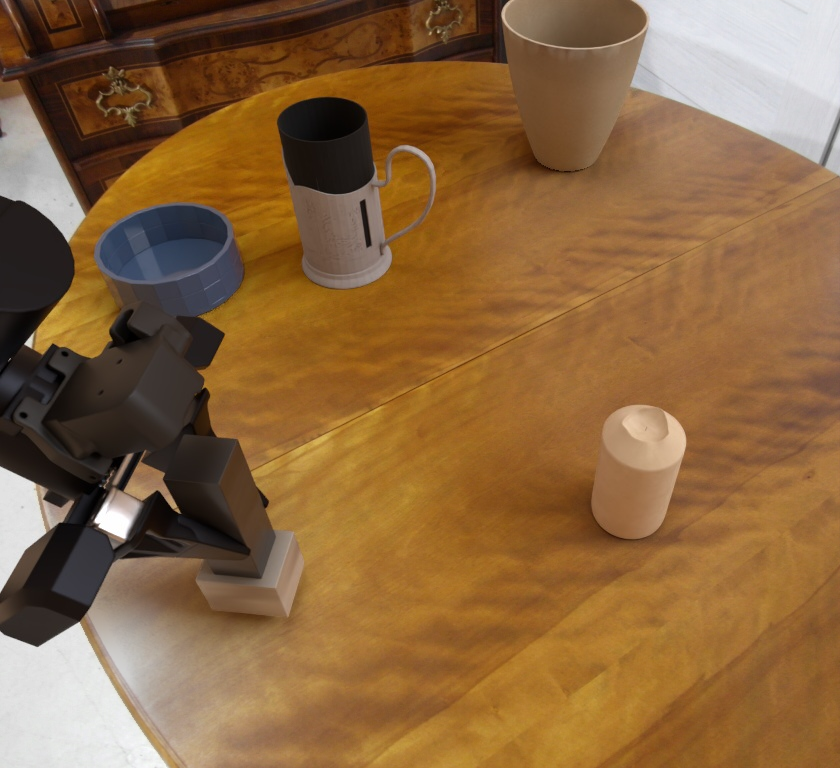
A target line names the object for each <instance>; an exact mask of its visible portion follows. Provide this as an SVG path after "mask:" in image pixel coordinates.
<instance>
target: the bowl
mask: <svg viewBox="0 0 840 768" xmlns="http://www.w3.org/2000/svg"><path fill="white" fill-rule="evenodd" d="M93 252H94V253H93V255H94V256H93V261H94V262H95V265H96V266H97V268H98V270H99V272H100V274H101V276H102V278H103V281H104V283H105V285H106V287H107V290H108V291H109V293H110V295H111V297H112V299H113V301H114V303H115V304H116V306H117V307H118V308H119V309H120V311H121V310H122V308H123V307H124V306H126V305H129V304H132V303H135V302H138V301H141V300H143V301H145V302H147V303H149V304H151V305H153V306H155V307H156V308H158V309H160V310H162V311H164V312H166V313H168V314H169V315H171V316H173V317H174V318H175V317H176V316H177V315H179V316H192V317H199V316H201V315H204V314H206V313H208V312H210V311H212V310H214V309H216V308H217V307H219V306H221V305H222V304H224V303H225V302H226V301H228V300H229V299H230V298H231V297H232V296H233V295H234V294H235V293H236V292H237V290H238V289H239V288H240V286H241V284H242V282H243V280H244V276H245V265H244V262H243V260H244V259H243V256H242V251H241V249H240V246H239V242H238V239H237V235H236V232H235V229H234V225H233V223H232V222H231V221H230V219H229V218H228V217H227V215H226V214H224V213H223V212H222V211H220V210H218V209H217V208H214V207H212V206H209V205H205V204H201V203H197V202H181V201H180V202H169V203H161V204H155V205H152V206H148V207H145V208H142V209H139V210H136V211H133V212H131V213H129V214H127V215H125V216H124V217H122V218H120V219H118V220H116V221H115V222H114V223H112V224H111V225H110V227H108V228H107V229H105V231H104V232H103V233H102V234H101V235H100V237H99V238H98V240H97V242H96V243H95V245H94V251H93Z"/></svg>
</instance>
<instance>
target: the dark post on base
mask: <svg viewBox="0 0 840 768" xmlns="http://www.w3.org/2000/svg"><path fill="white" fill-rule="evenodd" d="M162 482H163V483H164V485H165V487H166V489H167V490H168V492H169V494H170V496H171V498H172V500H173V501H174V503H175V505H176V507H177V509H178V511H179V513H180V514H183V515H185V516H187V517H189V518H191V519H194V520H196V521H198V522H200V523H202V524H204V525H207V526H209V527H211V528H213V529H215V530H218V531H220V532H222V533H224V534H226V535H228V536H231V537H232V538H234V539H236V540H237V541H239V542H240V543H242V544H244V545H245V546H247V547H248V548H250V549H251V554H250V556H249V557H247V558H246V559H244V560H240V561H236V560H215V559H202V563H201V565H200V567H199V570H198V572H197V575H196V578H195V581H194V582H195V583H196V584H197V587H198V588H199V590H200V591H201V593H202V595H203V596H204V598H205V600H206V601H207V603H208V605H209V606H210V609H211V610H212V611H217V612H228V613H235V614H236V613H237V614H247V615H256V616H257V615H259V616H267V617H278V618H289V616H290V614H291V610H292V608H293V603H294V600H295V597H296V594H297V590H298V587H299V583H300V580H301V577H302V575H303V571H304V568H305V564H306V562H305V559H304V556H303V553H302V550H301V547H300V545H299V542H298V539H297V537H296V534H295V531H292V530H282V529H281V530H280V529H274V528H273V525H272V522H271V520H270V517H269V515H268V512H267V509H266V508H265V507H264V505H263V502H262V499H261V497H260V494H259V492H258V489H257V487H258V486H257V484H256V481H255V479H254V476H253V474H252V472H251V469H250V466H249V463H248V461H247V459H246V456H245V453H244V451H243V449H242V445H241V443H240V441H239V438H231V437H222V436H221V437H219V436H217V437H209V436H198V435H186V434H184V435H183V438H182V440H181V442H180V444H179V446H178V448H177V450H176V452H175V454H174V456H173V458H172V460H171V462H170V464H169V466H168V469H167V471H166V473H164V475H163V477H162ZM256 486H257V487H256Z"/></svg>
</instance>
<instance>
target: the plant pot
mask: <svg viewBox="0 0 840 768" xmlns="http://www.w3.org/2000/svg"><path fill="white" fill-rule="evenodd" d="M500 17H501V25H502V31H503V32H502V33H503V40H504V41H503V42H504V46H505V54H506V60H507V65H508V71H509V76H510V80H511V86H512V89H513V93H514V98H515V102H516V105H517V109H518V112H519V116H520V119H521V123H522V126H523V129H524V132H525V134H526V137H527V140H528V142H529V145H530V148H531V150H532V153H533V156H534V158H535V160H536V159H537V160H536V161H537V162H538V164H540V163H541V164H540V165H542V166H543V165H544V166H543V167H545V166H546V167H545V168H547V167H548V168H547V169H549V168H550V170H553V169H555V170H554V171H556V170H559V171H558V172H564V171H571V172H576V171H575V170H579V171H581V170H580V169H583V170H585V169H588V168H589V167H591V166H593V165H594V164H595V163H596V161H597V160H598V158H599V157H600V155H601V153H602V151H603V149H604V147H605V145H606V144H607V141H608V140H609V137H610V135H611V133H612V131H613V129H614V127H615V125H616V123H617V120H618V118H619V116H620V113H621V111H622V109H623V106H624V103H625V101H626V98H627V96H628V93H629V90H630V88H631V85H632V82H633V79H634V76H635V73H636V70H637V67H638V64H639V60H640V58H641V54H642V49H643V47H644V43H645V39H646V36H647V33H648V29H649V25H650V20H651V19H650V15H649V11H648V10H647V9H646V8H645V7H644V6H643V5H642V4H641V3H640V2H639V1H637V0H508V1H507V2H506V3H505V4H504V6H503V7H502V10H501V14H500ZM587 167H588V168H587ZM584 168H585V169H584Z"/></svg>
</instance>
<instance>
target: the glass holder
mask: <svg viewBox="0 0 840 768" xmlns="http://www.w3.org/2000/svg"><path fill="white" fill-rule="evenodd" d="M276 125H277V130H278V135H279V139H280V143H281V157H282V163H283V167H284V171H285V175H286V179H287V183H288V188H289V193H290V198H291V203H292V205H293V210H294V214H295V219H296V225H297V228H298V232H299V238H300V242H301V246H302V250H303V255H302V259H301V268H302V271H303V273H304V275H305V276H306V277H307V278H308V279H309V280H310V281H311V282H312V283H314V284H316V285H319V286H321V287H324V288H327V289H334V290H350V289H356V288H360V287H363V286H367V285H369V284H372V283H373V282H376V281H377V280H379V279H380V278H381V277H382V276H384V275H385V274H386V273H387V271H388V270H389V269H390V267H391V265H392V262H393V261H392V260H393V253H392V250H391V247H390V246H389V245H390V244H391V243H393V242H395V241H396V240H398V239H399V238H401V237H403V236H404V235H407V234H408V233H410V232H411V231H412V230H414V229H416V228H417V227H419V226H420V225H421V224H423V222H424V221H425V219H426V218H427V216H428V214H429V213H430V210H431V208H432V206H433V204H434V200H435V196H436V191H437V183H436V182H437V175H436V170H435V165H434V164H433V162H432V160H431V158H430V157H429V156H428V155H427V154H426V153H425V152H424V151H423V150H421V149H419V148H418V147H416V146H412V145H409V144H403V145H398V146H397V147H394V148H393V149H392V150H391V151H390V152H389V153H388V154H387V157H386V160H385V163H384V164H385V165H384V172H385V180H380V179H379V180H378V172H377V171H378V170H377V166H376V163H375V161H374V157H373V149H372V140H371V133H370V125H369V118H368V112H367V109H365V108H364V107H363V105H361V104H360V103H359V102H356V101H354V100H352V99H349V98H344V97H337V96H318V97H311V98H307V99H302V100H299V101H297V102H294V103H293V104H291V105H289V106H287V107H285V109H282V111H281V112H280V113H279V115H278V116H277V119H276ZM399 153H408V154H412V155H414V156H415V157H418V158H419V159H420V160H421V161H422V162H423V163H424V165H425V167H426V168H427V170H428V174H429V180H430V181H429V182H430V184H429V185H430V186H429V196H428V199H427V200H428V202H427V204H426V206H425V208H424V209H423V212H422V213H421V215H420V216H419V218H417V219H416V220H415V221H414V222H412V223H411V224H410V225H408V226H406V227H405V228H403V229H402V230H399V231H398V232H395V233H394V234H393V235H391V236H389V237H388V238H387V239H386V234H385V228H384V220H383V210H382V203H381V196H380V194H381V193H380V188H385V187H386V186H388V185H389V184H390V182H391V180H392V161H393V158H394V157H395V155H396V154H399Z"/></svg>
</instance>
